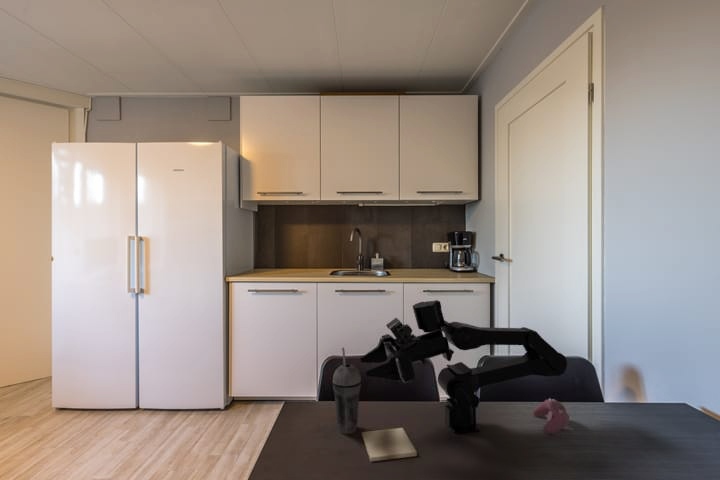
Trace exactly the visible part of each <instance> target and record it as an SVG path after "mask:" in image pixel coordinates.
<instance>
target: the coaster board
mask: <svg viewBox="0 0 720 480" xmlns="http://www.w3.org/2000/svg"><path fill="white" fill-rule="evenodd" d="M361 437H362V439H363V443H364V445H365V449H366V452H367V454H368V458H369V462H379V461H386V460H395V459H400V458H401V459H403V458H411V457H417V456H418V452H417V450H416V448H415V446H414V445H413V443H412V441H411V440H410V438H409V437H408V435H407V432H406V431H405V430H404V428H403V427H397V428H388V429H387V428H386V429H381V430H370V431H369V430H368V431H361Z"/></svg>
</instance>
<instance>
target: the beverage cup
mask: <svg viewBox="0 0 720 480" xmlns="http://www.w3.org/2000/svg"><path fill="white" fill-rule="evenodd" d="M341 349H342V350H341V352H342V361H343V363H342V365H340V366H338V367H337V368H336V369H335V371H334V373H333V377H332V387H333V389H332V390H333V393H334V400H335V401H334V402H335V403H334V404H335V413H336V424H337V431H338V432H339V433H340V434H343V435H351V434H354V433H355V432H356V431H357V425H358V417H359V416H358V415H359V402H360V391H361V386H362V378H361V373H360V371H359V370H358V368H357V367H356V366H354V365H353V364H349V363H346V353H345V352H346V351H345V347H342V348H341Z"/></svg>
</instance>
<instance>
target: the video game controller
mask: <svg viewBox="0 0 720 480" xmlns="http://www.w3.org/2000/svg"><path fill="white" fill-rule="evenodd" d="M532 414H533V416H535V417H536V418H540V417H545V416H546V420H547V422H546V423H545V424H544V426H543V431H544V433H545V434H547V435H551V434H552V435H553V434H556V433H558V432H560V431H561V430H562V429H563V428H566V427H567V425H569V423H570V415H569V414H568V413H567V410H566V407H565V406H564V405H563V404H562V402H560V401H558V400H556V399H554V398H553V399H551V397H550V398H548V399H545V400H544V401H543V402H542V403H541V404H538V405H537V406H536V407H534V408H533V410H532Z"/></svg>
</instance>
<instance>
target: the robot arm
mask: <svg viewBox="0 0 720 480" xmlns="http://www.w3.org/2000/svg"><path fill="white" fill-rule="evenodd" d="M412 310H413V314H414V317H415V321H416V324H417V328H418V330H422V332H424V333H423V334H420V335H417V336H416V335H415V334H412V333H413V329H412V328H411V326H410V325H409V324H403V322H401V321H400V319H399V318H397V317H395V318H393V319H392V320H391V321H389V322H388V323H386V325H385V326H386V327H387V329H388V330H390V331H391V333H392V334H393V336H392V335H391V334H390V333H389V334H388V333H387V334H384V335H381V338H379V342H378V344H377V346H376V347H374V348H373V349H372V350H370V351H368V352H367V353H365V354H363V355H362V356H361V357H360V358H359V360H360V363H363V364H368V363H369V364H375V365H374V366H372V367H370V368H368V369H367V370H365V372H364V373H365V375H366V377H373V378H380V379H381V378H382V379H386V380H393V381H398V382H399V383H401V382H403V383H404V384H408V383H410V382H413V381H414V379H415V378H416V377H415V376H416V374H415V369H414V367H413V364H415V363H416V364H417V363H419V362H420V363H421V364H423V365H424V364H426V362H427V361H426V360H428V359H431V358H432V359H433V358H434V357H437V356H440V355H442V357H443V358H444V359H445V360H446V361H448V362H451V361H452V357H453V355H454V353H455V351H454V350H453V349H451V347H450V344H451V345H452V346H454V347H456V348H457V349H458V350H461V351H469V350H475V349H478V348H481V347H483V346H522V347H523V349H524V350H525V353H524V354H523V355H522V356H519V357H515V358H511V359H506V360H502V361H497V362H494V363H490V364H485V365H481V366H477V367H472V368H471V367H469V366H468V365H466V364H465V363H463V362H462V361H460V362H456V363H454V364H446V367H443V368H441V370H440V372H439V373H438V376H437V382H438V385H439V386H440V388H441V389H442V390H443V391H444V393H445V394H446V396H448V397H449V398H446V405H444V418H443V419H444V422H445V423H446V424H447V426H448V427H449V428H450V429H451V430H452V431H453V432H454V433H455V434H461V433H471V432H479V431H480V427H479V426H478V425H477V411H476V409H477V408H478V407H479V404H480V401H481V399H480V397H479V396H478V395H477V394H476V393H477V392H478V391H479V389H481V388H483V387H490V386H492V385H496V384H500V383H505V382H509V381H513V380H518V379H521V378H526V377H530V376H541V377H547V378H548V377H551V378H552V377H560V376H562V375H564V374H565V373H566V370H567V368H568V360H567V358H566V357H565V355H564V354H563V353H561V352H558V351H557V350H556V349H555V348H554V347H553V346H552V345H551V344H549V343H548V342H547V341H546V340H545V339H544V338H543V337H542V336H541V335H540V334H539V333H538V331H536V330H533V329H531V328H528V327H525V326H524V327H484V326H483V327H481V326H478V325H477V326H476V325H473V324H469V323H464V322H459V321H451V322H448V321H447V320H446V319H445V317H444V315H443V311H442V304H441V301H439V300H438V299H435V300H428V301H420V302H417V303H415V304H413V305H412ZM443 333H444V334H443ZM394 337H395V338H394ZM376 363H377V364H376Z"/></svg>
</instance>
